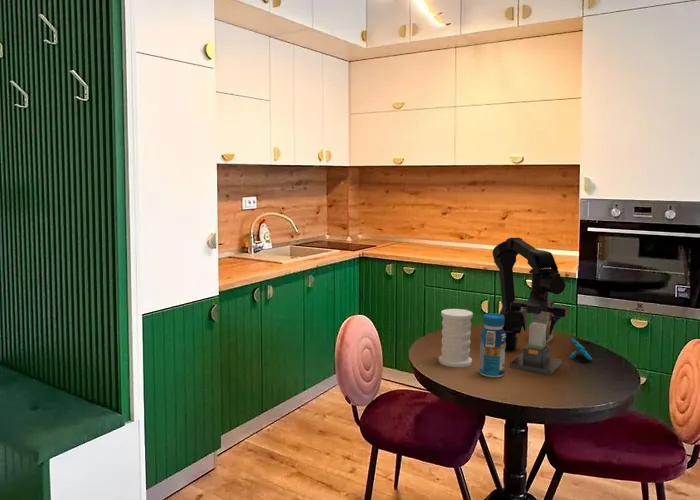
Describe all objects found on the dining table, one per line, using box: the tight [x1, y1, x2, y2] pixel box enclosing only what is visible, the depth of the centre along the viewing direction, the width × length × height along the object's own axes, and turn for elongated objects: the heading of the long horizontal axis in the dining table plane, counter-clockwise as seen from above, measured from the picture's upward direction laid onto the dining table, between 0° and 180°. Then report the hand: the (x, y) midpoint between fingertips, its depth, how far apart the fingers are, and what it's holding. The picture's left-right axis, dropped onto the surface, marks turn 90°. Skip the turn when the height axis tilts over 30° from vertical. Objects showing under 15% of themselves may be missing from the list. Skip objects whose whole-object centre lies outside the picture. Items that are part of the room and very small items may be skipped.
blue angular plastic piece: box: [569, 337, 593, 362], centre depth 225 cm, size 11×6×10 cm
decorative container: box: [438, 308, 474, 368], centre depth 218 cm, size 12×12×18 cm
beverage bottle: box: [478, 312, 506, 378], centre depth 206 cm, size 8×8×20 cm
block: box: [527, 322, 547, 351], centre depth 215 cm, size 5×5×9 cm
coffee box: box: [530, 298, 555, 344], centre depth 247 cm, size 9×6×16 cm
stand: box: [509, 344, 562, 376], centre depth 216 cm, size 14×14×7 cm
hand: (537, 332), depth 215 cm, fingers open, 8 cm apart
